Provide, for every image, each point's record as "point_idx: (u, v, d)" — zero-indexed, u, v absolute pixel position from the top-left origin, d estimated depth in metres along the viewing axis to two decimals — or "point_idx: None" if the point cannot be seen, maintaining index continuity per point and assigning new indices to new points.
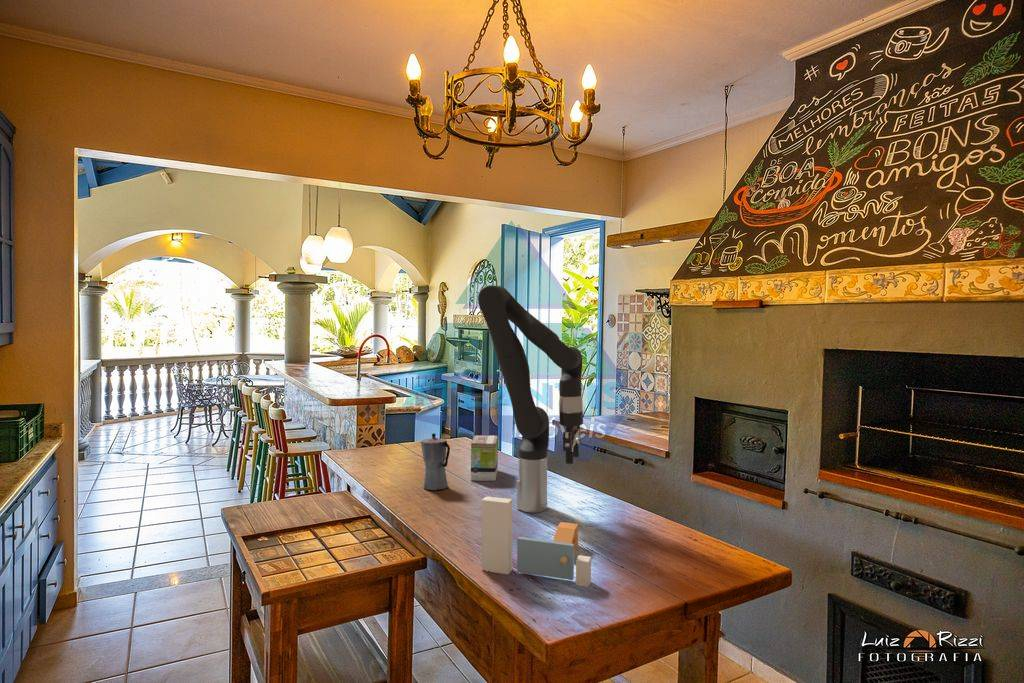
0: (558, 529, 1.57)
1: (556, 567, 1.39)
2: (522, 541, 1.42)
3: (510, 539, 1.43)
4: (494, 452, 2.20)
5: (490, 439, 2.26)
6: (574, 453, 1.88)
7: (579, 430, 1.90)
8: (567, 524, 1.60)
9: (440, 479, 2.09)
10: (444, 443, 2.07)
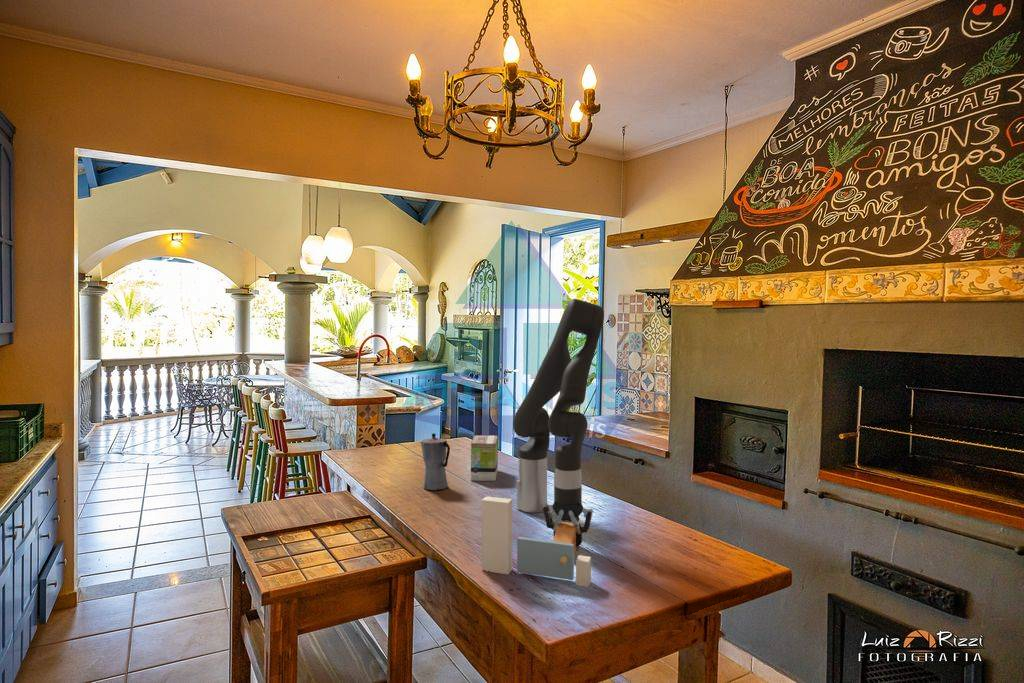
0: (558, 529, 1.57)
1: (556, 567, 1.39)
2: (522, 541, 1.42)
3: (510, 539, 1.43)
4: (494, 452, 2.20)
5: (490, 439, 2.26)
6: None
7: None
8: (567, 523, 1.60)
9: (440, 479, 2.09)
10: (444, 443, 2.07)
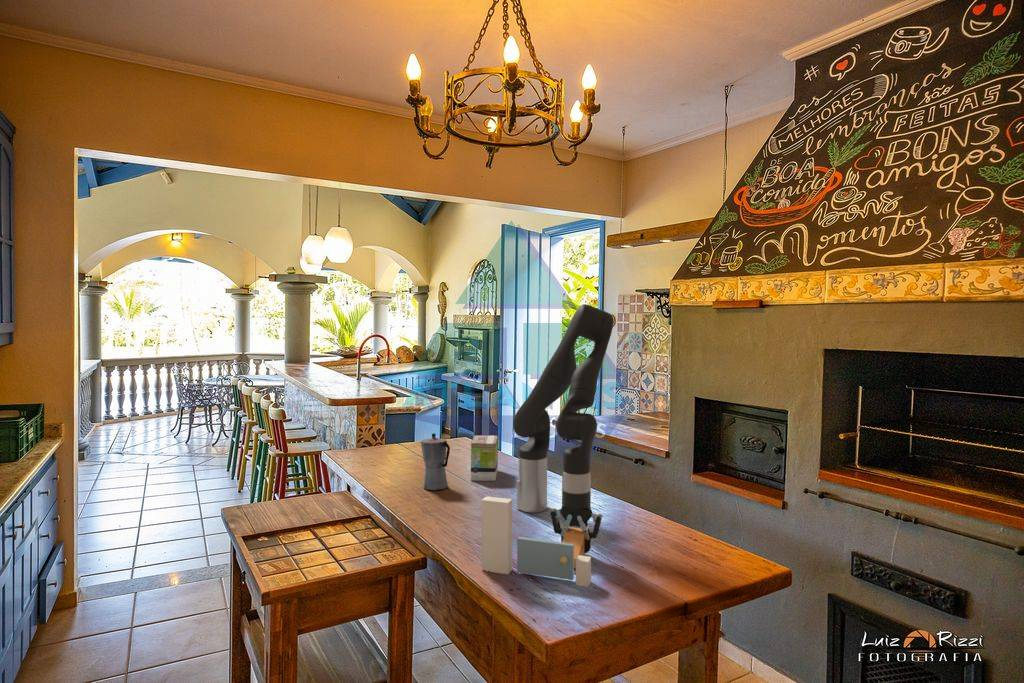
0: (566, 534, 1.51)
1: (556, 567, 1.39)
2: (522, 541, 1.42)
3: (510, 539, 1.43)
4: (494, 452, 2.20)
5: (490, 439, 2.26)
6: None
7: None
8: (575, 529, 1.54)
9: (440, 479, 2.09)
10: (444, 443, 2.07)
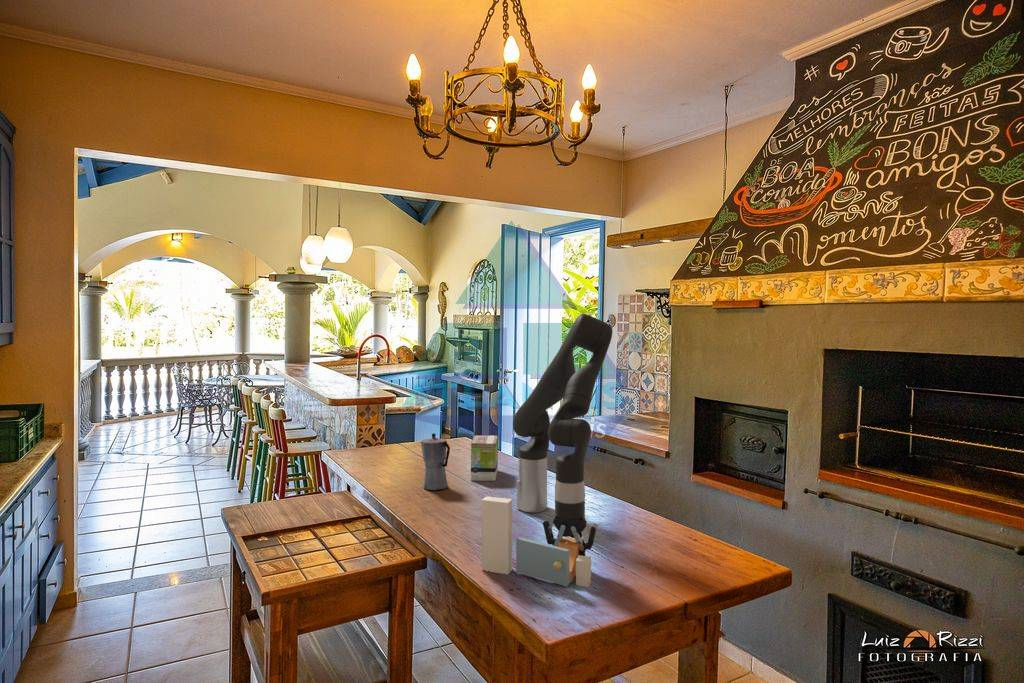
0: (560, 545, 1.44)
1: (551, 571, 1.37)
2: (521, 542, 1.41)
3: (510, 539, 1.43)
4: (494, 452, 2.20)
5: (490, 439, 2.26)
6: None
7: None
8: (569, 539, 1.47)
9: (440, 479, 2.09)
10: (444, 443, 2.07)
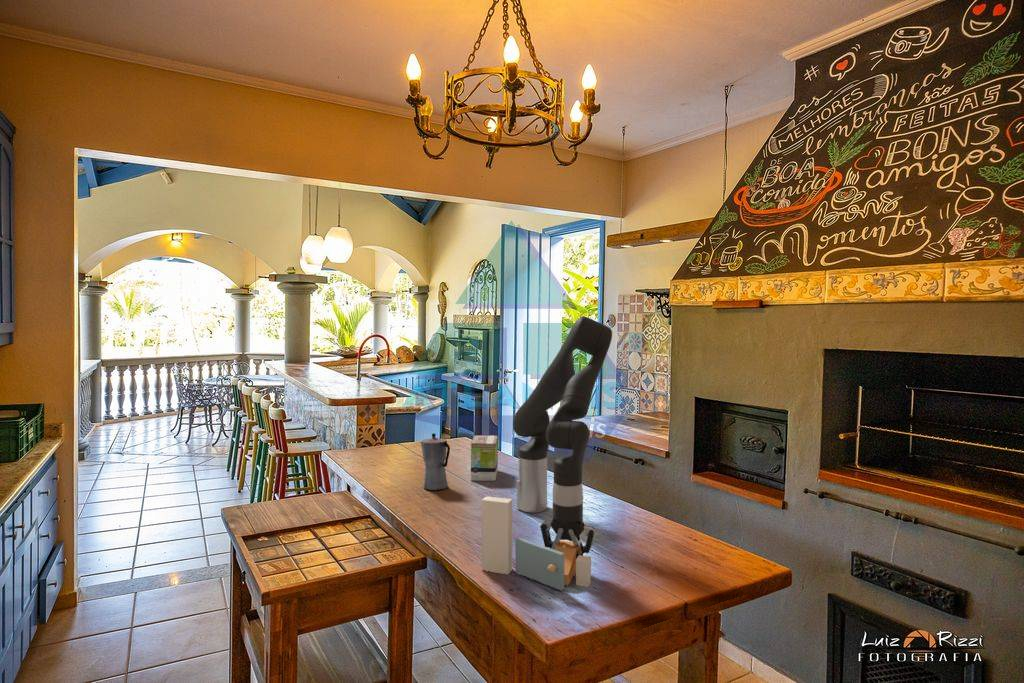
0: (557, 548, 1.43)
1: (547, 574, 1.36)
2: (519, 542, 1.41)
3: (510, 539, 1.43)
4: (494, 452, 2.20)
5: (490, 439, 2.26)
6: None
7: None
8: (567, 542, 1.46)
9: (440, 479, 2.09)
10: (444, 443, 2.07)
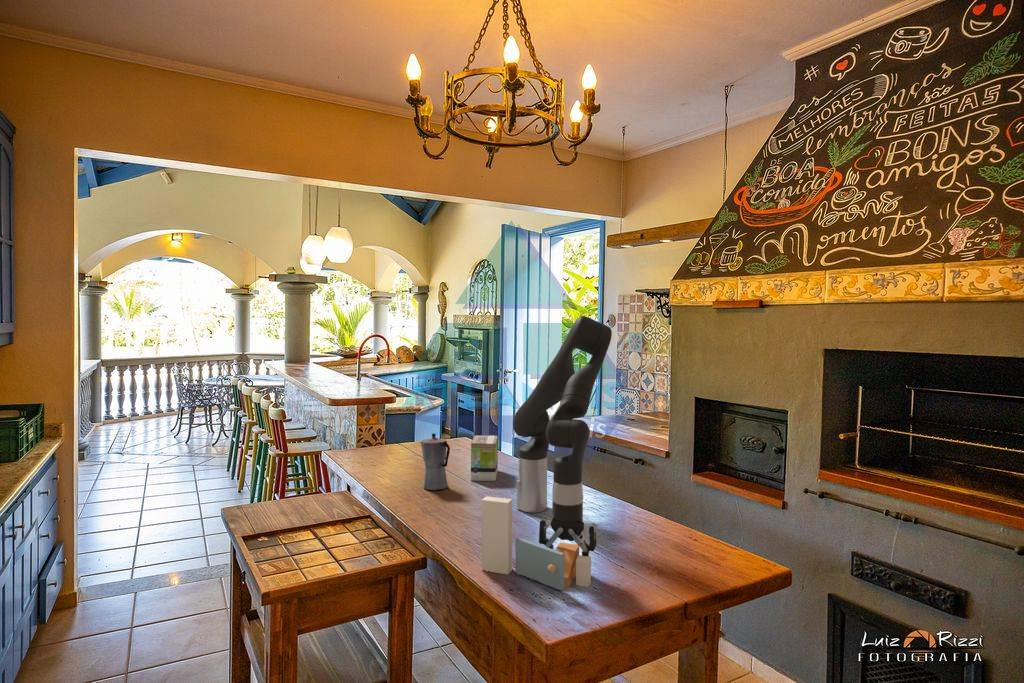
0: None
1: (547, 574, 1.36)
2: (519, 542, 1.41)
3: (510, 539, 1.43)
4: (494, 452, 2.20)
5: (490, 439, 2.26)
6: None
7: None
8: (567, 544, 1.46)
9: (440, 479, 2.09)
10: (444, 443, 2.07)
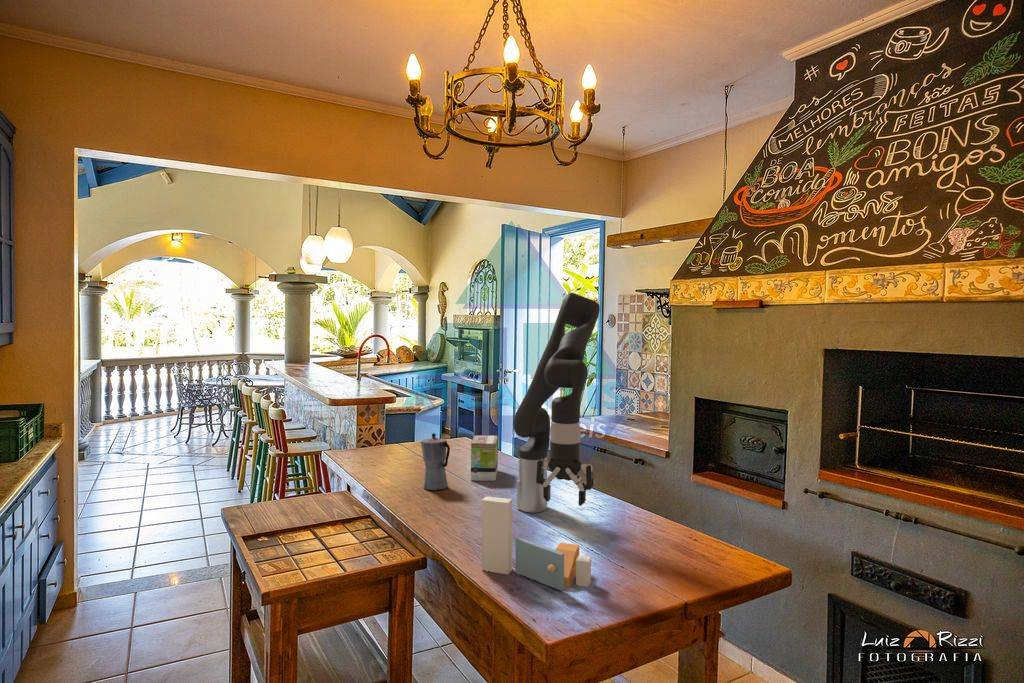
0: None
1: (547, 574, 1.36)
2: (519, 542, 1.41)
3: (510, 539, 1.43)
4: (494, 452, 2.20)
5: (490, 439, 2.26)
6: (548, 496, 1.46)
7: None
8: (567, 544, 1.46)
9: (440, 479, 2.09)
10: (444, 443, 2.07)
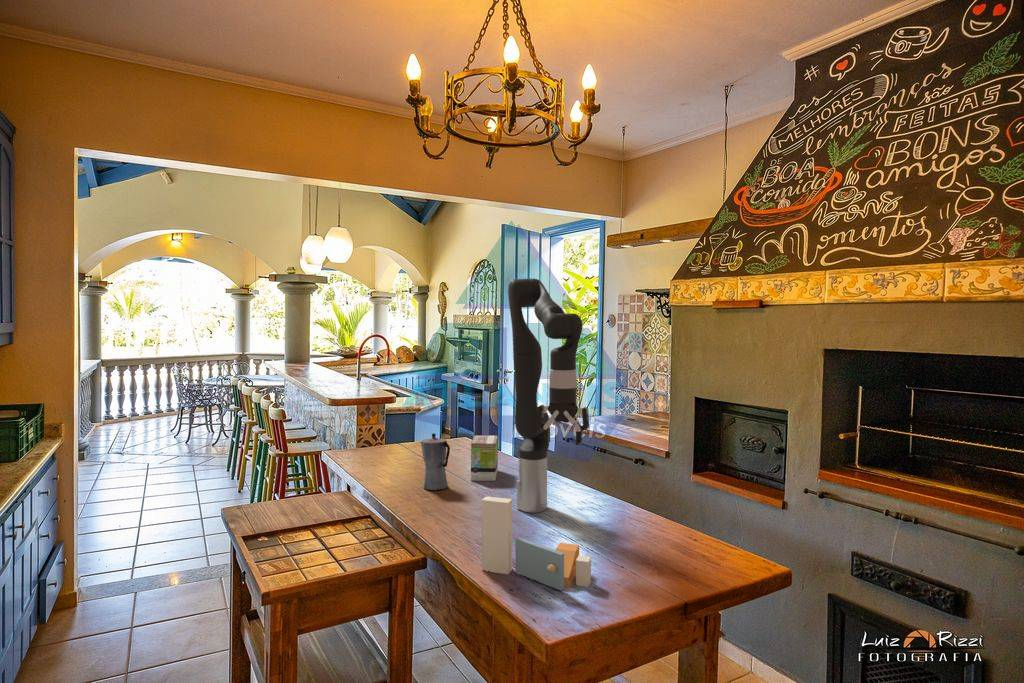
0: None
1: (547, 574, 1.36)
2: (519, 542, 1.41)
3: (510, 539, 1.43)
4: (494, 452, 2.20)
5: (490, 439, 2.26)
6: (548, 438, 1.61)
7: None
8: (567, 545, 1.46)
9: (440, 479, 2.09)
10: (444, 443, 2.07)
